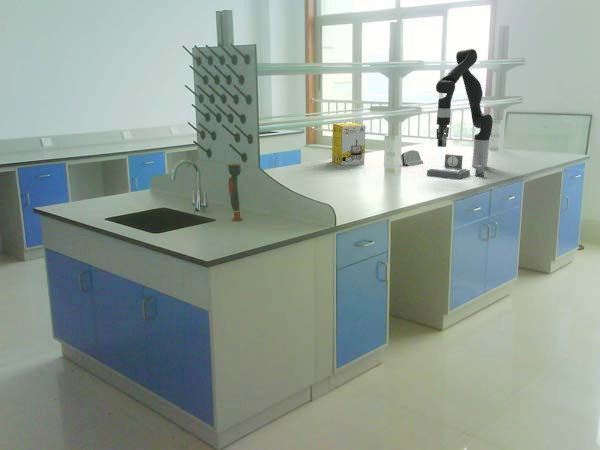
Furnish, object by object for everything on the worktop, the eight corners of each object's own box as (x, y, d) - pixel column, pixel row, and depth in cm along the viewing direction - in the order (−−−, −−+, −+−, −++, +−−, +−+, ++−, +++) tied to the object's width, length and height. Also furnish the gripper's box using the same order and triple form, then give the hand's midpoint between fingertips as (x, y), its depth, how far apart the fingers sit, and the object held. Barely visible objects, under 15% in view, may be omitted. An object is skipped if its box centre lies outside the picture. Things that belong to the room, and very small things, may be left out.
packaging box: (354, 160, 407) (355, 123, 401) (364, 164, 392) (365, 125, 386) (332, 161, 402) (332, 123, 396) (341, 165, 387) (342, 126, 381)
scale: (437, 171, 367) (438, 153, 364) (469, 174, 356) (471, 156, 353) (426, 175, 354) (428, 156, 351) (459, 178, 343) (461, 159, 340)
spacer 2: (476, 174, 356) (477, 164, 354) (485, 175, 353) (485, 165, 351) (473, 176, 352) (474, 166, 350) (482, 177, 349) (483, 166, 347)
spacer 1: (439, 145, 354) (440, 135, 353) (447, 146, 352) (448, 135, 350) (436, 146, 350) (436, 136, 349) (444, 147, 348) (444, 136, 346)
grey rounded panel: (408, 166, 385) (404, 150, 385) (402, 167, 388) (398, 152, 388) (423, 163, 396) (420, 148, 396) (418, 164, 399) (414, 150, 399)
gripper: (442, 115, 354) (440, 143, 359) (432, 116, 343) (430, 146, 347) (454, 115, 350) (452, 144, 355) (445, 117, 339) (443, 147, 343)
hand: (441, 145), depth 351 cm, fingers closed on spacer 1, 5 cm apart
